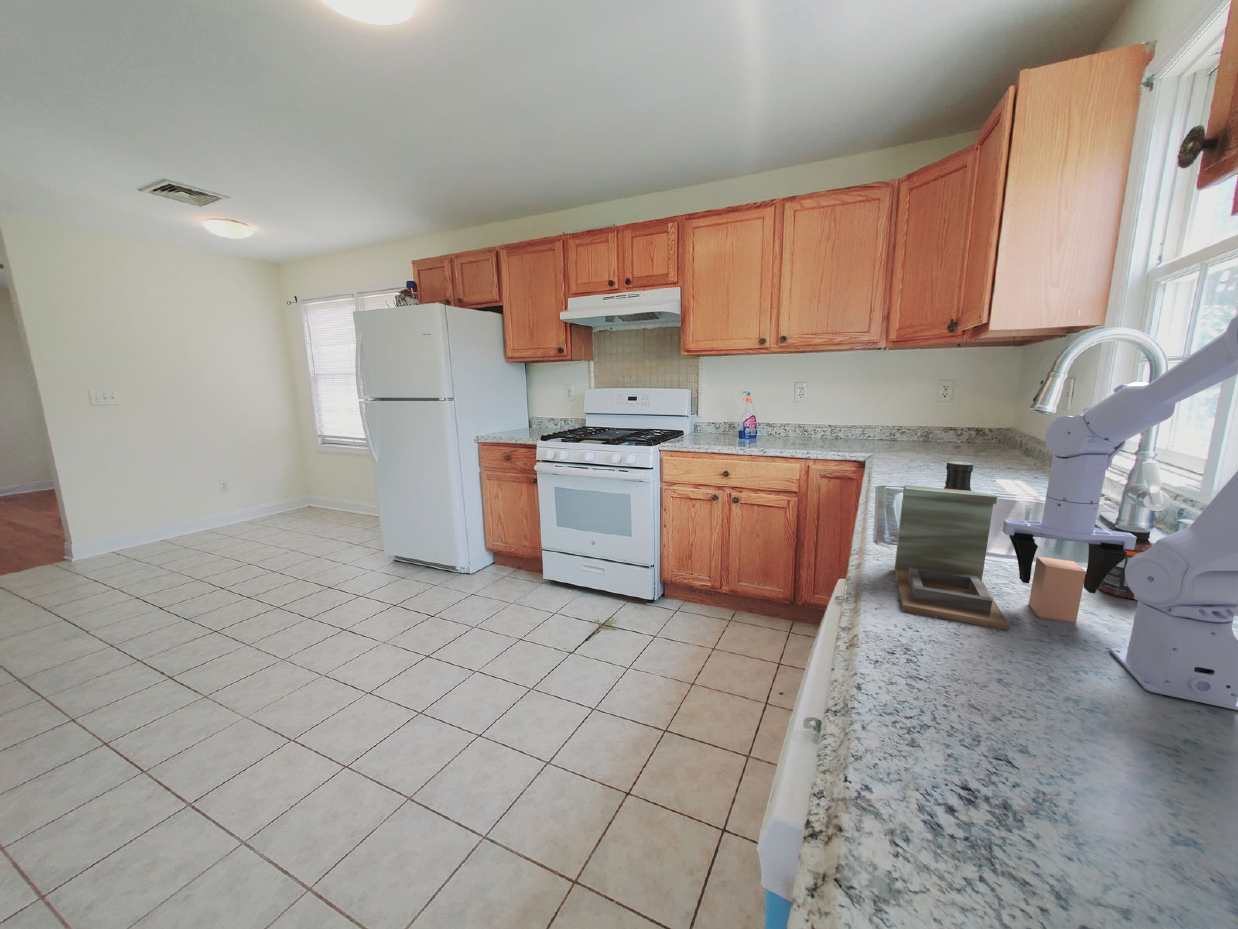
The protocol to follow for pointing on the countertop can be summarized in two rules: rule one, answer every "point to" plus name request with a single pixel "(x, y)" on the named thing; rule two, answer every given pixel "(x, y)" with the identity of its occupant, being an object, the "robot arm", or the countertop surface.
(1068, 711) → the countertop surface
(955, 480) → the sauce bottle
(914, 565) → the socket stand
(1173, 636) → the robot arm
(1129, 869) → the countertop surface
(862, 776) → the countertop surface
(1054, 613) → the peg
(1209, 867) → the countertop surface
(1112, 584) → the supplement bottle
